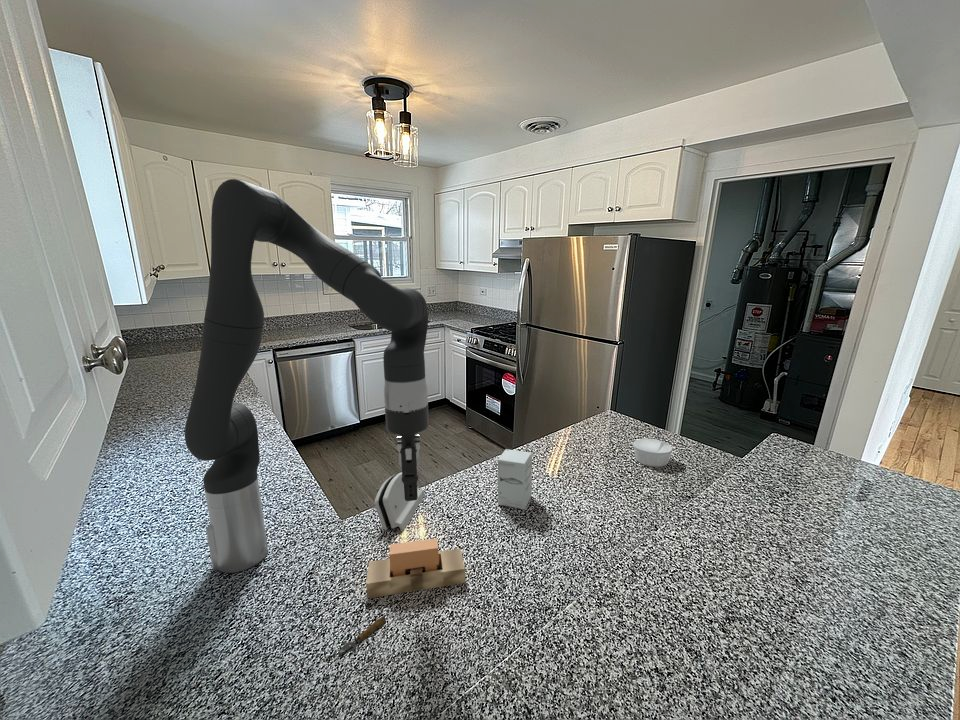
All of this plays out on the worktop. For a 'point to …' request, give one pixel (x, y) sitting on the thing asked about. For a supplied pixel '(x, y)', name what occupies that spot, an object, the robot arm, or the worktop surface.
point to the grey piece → (395, 503)
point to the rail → (415, 575)
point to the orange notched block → (413, 556)
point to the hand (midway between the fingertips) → (411, 487)
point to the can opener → (363, 635)
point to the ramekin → (652, 452)
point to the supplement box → (514, 478)
